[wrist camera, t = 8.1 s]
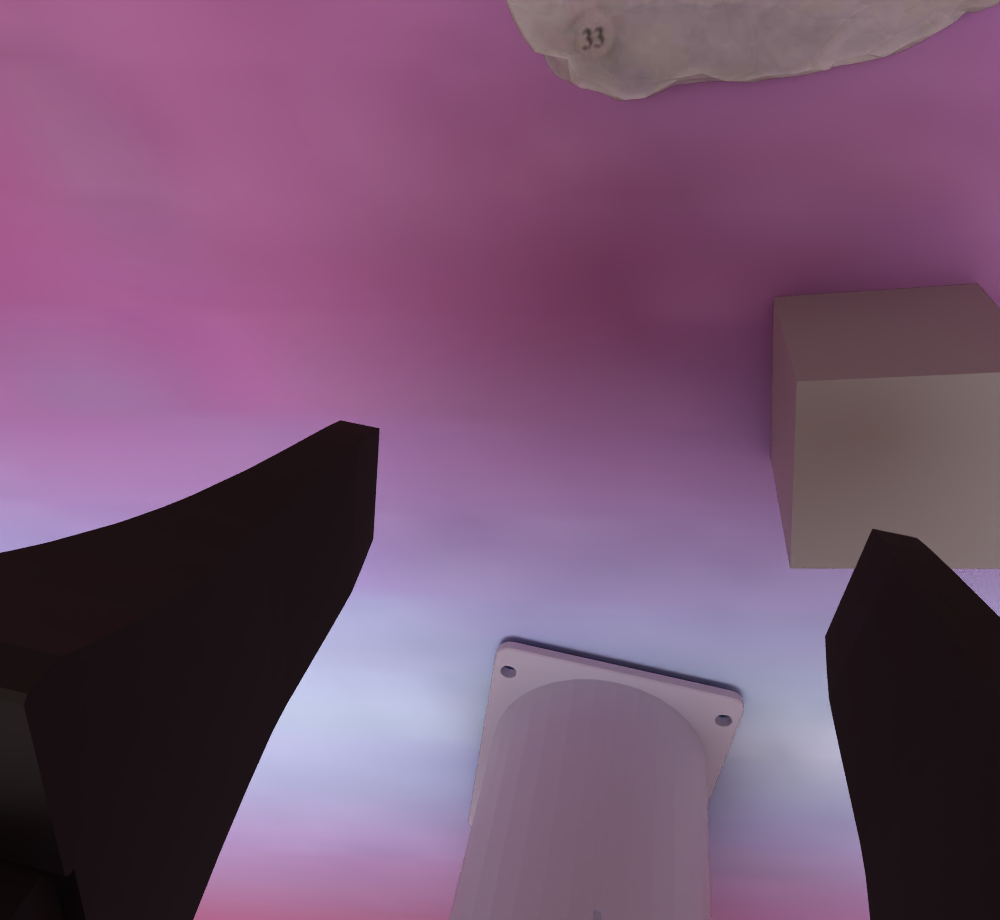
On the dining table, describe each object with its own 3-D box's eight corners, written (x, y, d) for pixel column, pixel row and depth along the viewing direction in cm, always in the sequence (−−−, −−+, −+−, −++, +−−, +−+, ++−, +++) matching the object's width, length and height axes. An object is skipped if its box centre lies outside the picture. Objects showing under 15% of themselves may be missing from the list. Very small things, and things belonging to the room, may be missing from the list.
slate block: (953, 451, 22) (1017, 568, 18) (770, 456, 23) (790, 568, 19) (976, 282, 20) (1055, 370, 16) (773, 296, 21) (796, 381, 17)
